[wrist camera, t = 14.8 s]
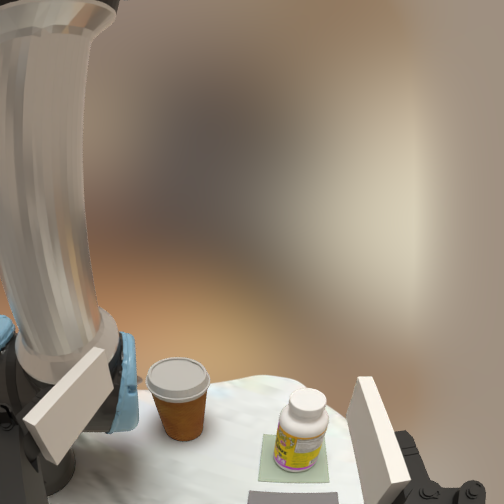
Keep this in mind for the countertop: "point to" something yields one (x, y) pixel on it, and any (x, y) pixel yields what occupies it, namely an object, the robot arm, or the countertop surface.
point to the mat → (276, 474)
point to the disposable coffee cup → (179, 395)
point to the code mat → (292, 498)
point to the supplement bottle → (301, 430)
